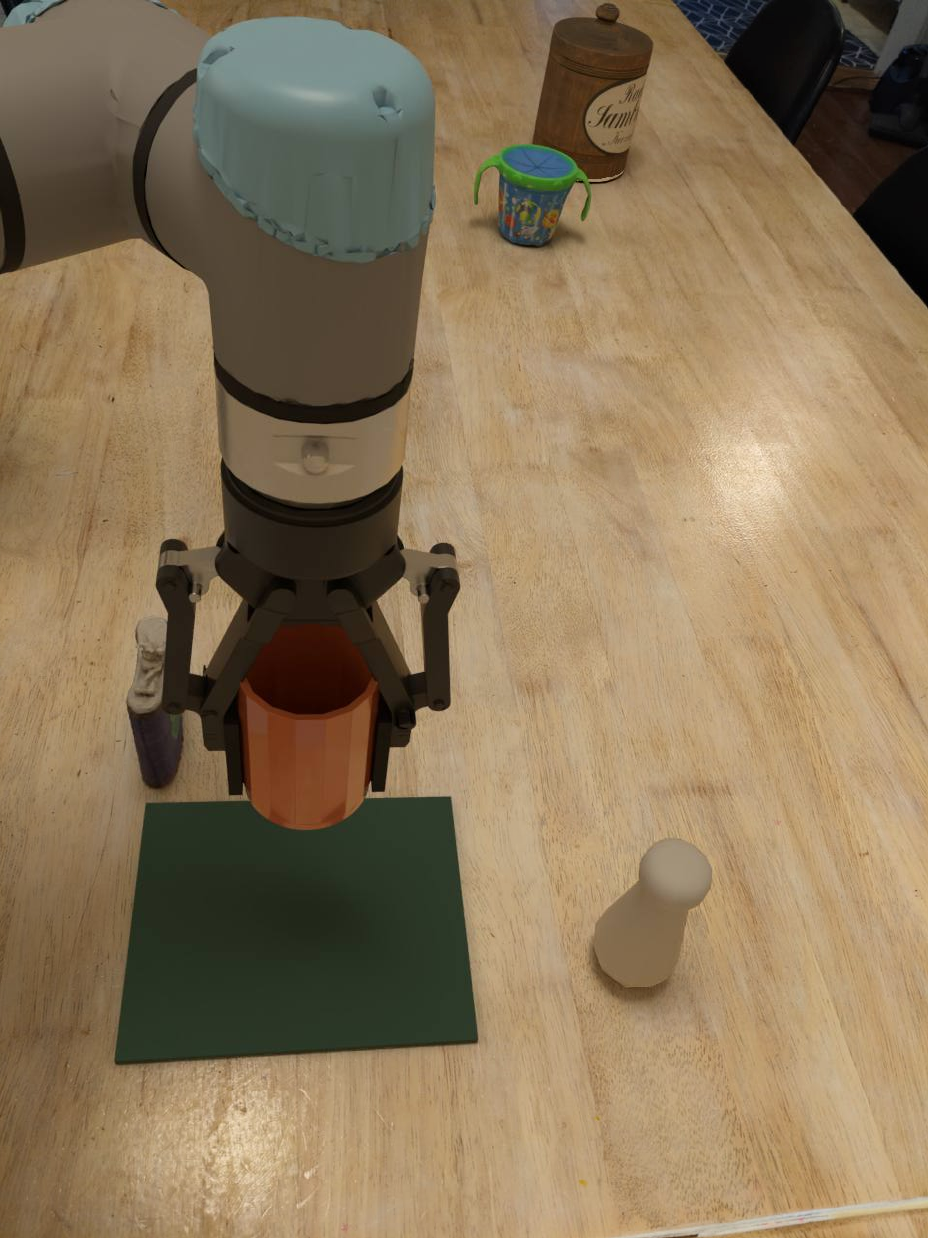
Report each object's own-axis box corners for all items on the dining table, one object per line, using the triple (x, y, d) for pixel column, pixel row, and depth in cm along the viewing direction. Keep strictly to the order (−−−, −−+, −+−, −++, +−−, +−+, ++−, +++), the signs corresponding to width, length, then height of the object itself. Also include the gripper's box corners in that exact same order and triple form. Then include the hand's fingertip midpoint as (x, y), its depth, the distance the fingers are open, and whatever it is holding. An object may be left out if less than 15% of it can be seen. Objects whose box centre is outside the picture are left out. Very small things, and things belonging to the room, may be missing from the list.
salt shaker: (568, 950, 70) (612, 852, 60) (625, 904, 73) (676, 804, 63) (630, 1018, 67) (685, 927, 58) (686, 967, 70) (748, 873, 61)
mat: (115, 1064, 61) (114, 1061, 61) (146, 806, 73) (145, 802, 73) (477, 1042, 65) (478, 1039, 64) (450, 799, 77) (451, 796, 76)
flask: (148, 690, 80) (133, 596, 72) (186, 690, 81) (176, 596, 73) (138, 791, 74) (121, 699, 66) (180, 789, 75) (168, 698, 67)
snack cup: (583, 228, 144) (599, 155, 136) (578, 263, 136) (594, 188, 129) (474, 207, 144) (484, 133, 136) (463, 241, 137) (473, 165, 129)
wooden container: (598, 193, 152) (634, 30, 136) (513, 160, 156) (538, -1, 140) (639, 163, 161) (678, 8, 145) (557, 133, 166) (586, -21, 150)
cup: (241, 832, 56) (233, 721, 49) (245, 726, 61) (239, 610, 53) (373, 828, 57) (384, 719, 50) (367, 724, 62) (377, 611, 55)
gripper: (39, 511, 38) (116, 836, 55) (567, 521, 41) (488, 825, 58) (70, 392, 43) (132, 723, 60) (538, 410, 46) (473, 719, 63)
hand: (307, 773), depth 59 cm, fingers closed on cup, 7 cm apart
